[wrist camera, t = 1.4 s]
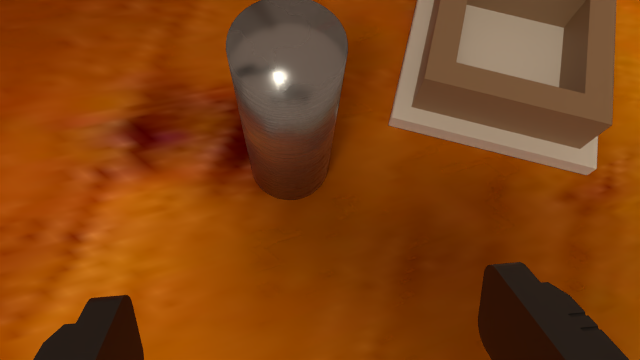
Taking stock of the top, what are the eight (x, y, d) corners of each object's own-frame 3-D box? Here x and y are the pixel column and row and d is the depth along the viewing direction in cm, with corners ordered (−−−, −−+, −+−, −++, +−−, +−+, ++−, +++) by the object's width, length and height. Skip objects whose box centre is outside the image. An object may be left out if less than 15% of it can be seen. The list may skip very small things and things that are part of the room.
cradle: (388, 125, 29) (402, 89, 25) (422, -24, 33) (439, -73, 29) (586, 175, 28) (631, 146, 25) (594, 17, 33) (633, -28, 29)
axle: (241, 188, 27) (209, 79, 17) (264, 121, 28) (247, -16, 18) (317, 208, 27) (331, 110, 16) (335, 139, 28) (359, 11, 18)
